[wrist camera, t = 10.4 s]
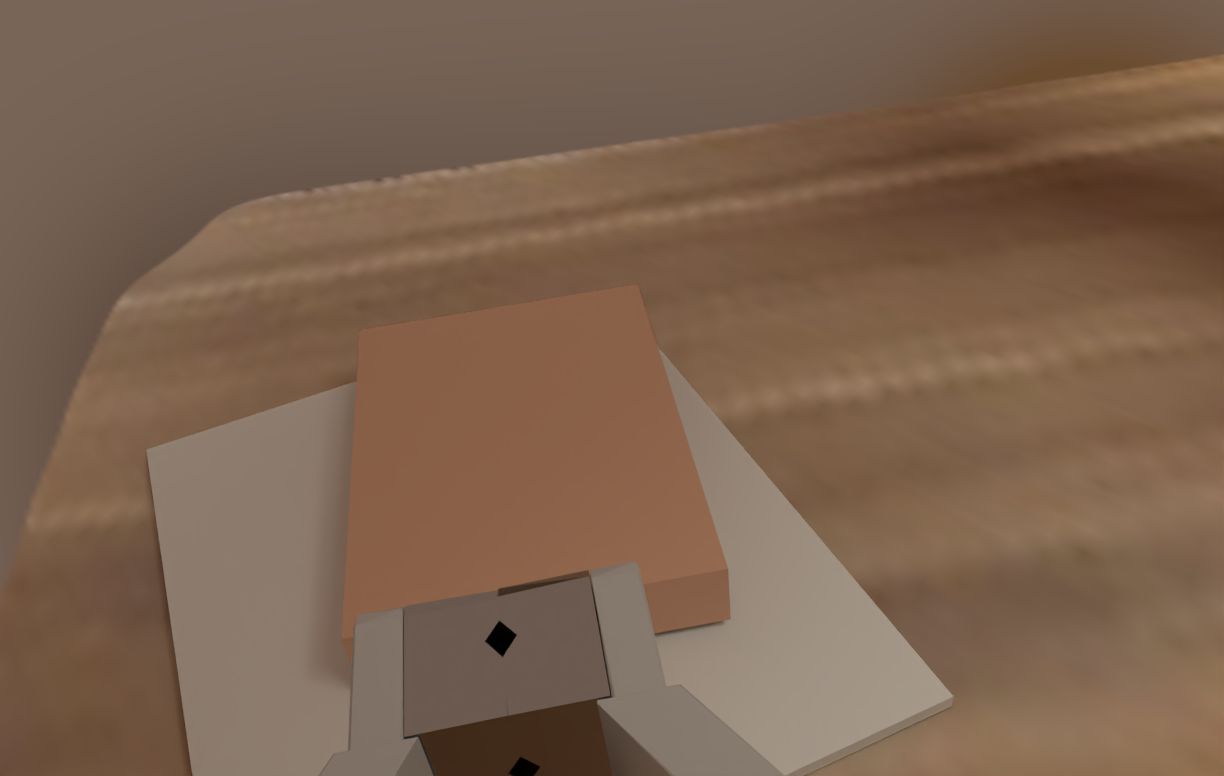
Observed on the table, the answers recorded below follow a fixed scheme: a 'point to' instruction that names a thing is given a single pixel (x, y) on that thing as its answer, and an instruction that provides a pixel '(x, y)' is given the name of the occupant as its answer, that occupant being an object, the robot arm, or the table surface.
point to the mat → (315, 579)
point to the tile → (525, 460)
